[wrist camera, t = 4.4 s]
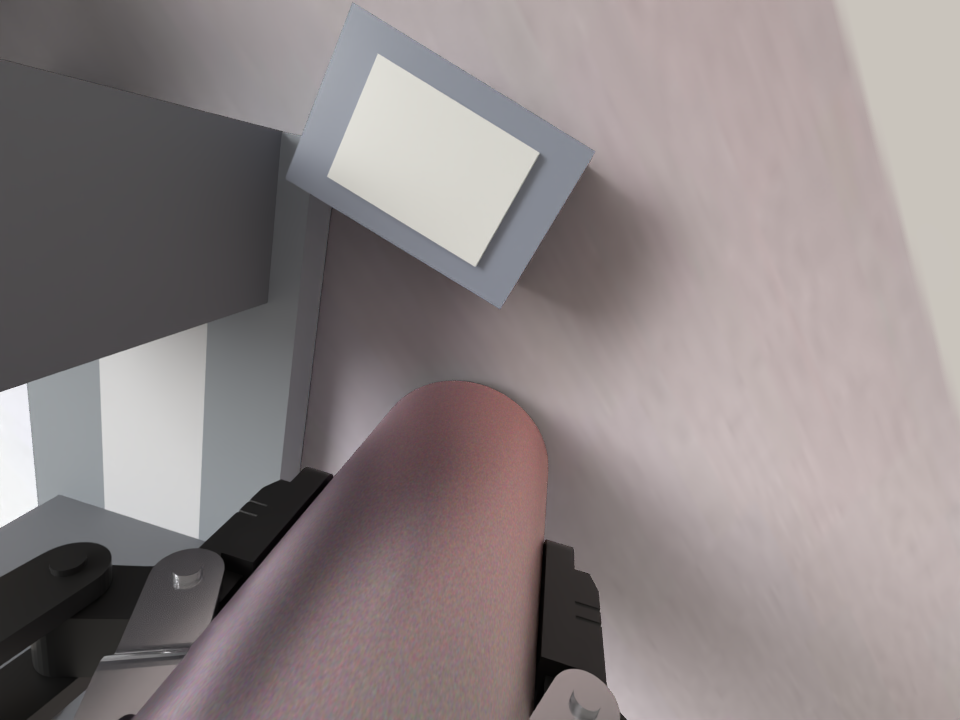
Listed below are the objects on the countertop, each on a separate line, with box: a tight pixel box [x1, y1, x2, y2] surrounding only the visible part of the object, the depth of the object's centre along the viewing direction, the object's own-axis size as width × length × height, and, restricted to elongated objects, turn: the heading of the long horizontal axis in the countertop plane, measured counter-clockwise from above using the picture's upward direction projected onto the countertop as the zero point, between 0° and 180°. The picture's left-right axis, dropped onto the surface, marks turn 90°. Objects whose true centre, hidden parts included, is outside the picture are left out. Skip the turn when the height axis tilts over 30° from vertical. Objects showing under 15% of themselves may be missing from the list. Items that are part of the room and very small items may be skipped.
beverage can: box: [130, 381, 548, 720], centre depth 10 cm, size 6×6×15 cm
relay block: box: [285, 2, 595, 309], centre depth 13 cm, size 6×4×4 cm, turn 60°
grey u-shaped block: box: [0, 59, 331, 720], centre depth 14 cm, size 20×10×10 cm, turn 167°
